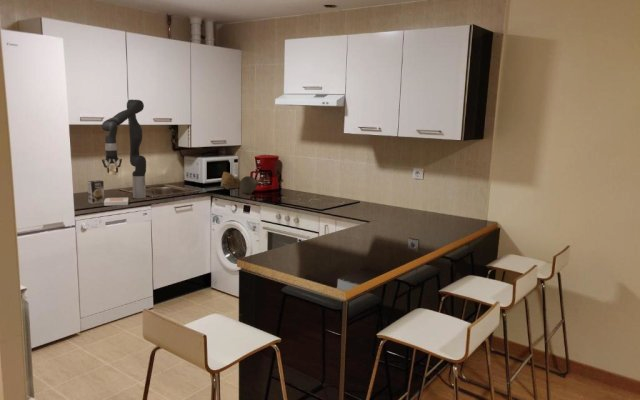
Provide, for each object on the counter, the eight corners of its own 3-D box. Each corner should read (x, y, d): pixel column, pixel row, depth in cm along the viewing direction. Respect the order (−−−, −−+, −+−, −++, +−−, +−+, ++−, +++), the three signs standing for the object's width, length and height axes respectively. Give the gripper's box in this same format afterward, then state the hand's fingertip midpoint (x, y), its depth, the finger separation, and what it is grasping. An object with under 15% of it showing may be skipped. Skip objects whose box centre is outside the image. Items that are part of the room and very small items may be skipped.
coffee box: (92, 204, 351) (91, 182, 348) (88, 202, 354) (87, 181, 351) (104, 202, 358) (103, 180, 355) (100, 201, 362) (99, 179, 359)
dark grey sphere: (248, 195, 405) (249, 178, 402) (236, 193, 412) (236, 176, 410) (259, 193, 417) (259, 176, 414) (247, 191, 424) (247, 174, 421)
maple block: (116, 173, 354) (115, 165, 353) (116, 174, 350) (115, 166, 349) (109, 173, 353) (109, 165, 352) (109, 174, 349) (108, 166, 348)
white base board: (128, 200, 367) (128, 197, 367) (128, 204, 353) (127, 201, 352) (105, 201, 362) (105, 197, 361) (104, 205, 347) (103, 201, 347)
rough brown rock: (241, 191, 431) (242, 174, 429) (222, 189, 426) (223, 172, 424) (237, 187, 453) (239, 171, 451) (219, 186, 448) (221, 170, 446)
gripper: (122, 148, 354) (123, 171, 357) (100, 149, 349) (102, 172, 352) (121, 149, 347) (123, 173, 351) (100, 150, 342) (101, 174, 346)
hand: (112, 172), depth 351 cm, fingers closed on maple block, 4 cm apart
